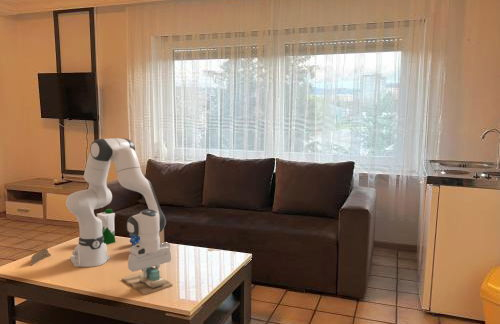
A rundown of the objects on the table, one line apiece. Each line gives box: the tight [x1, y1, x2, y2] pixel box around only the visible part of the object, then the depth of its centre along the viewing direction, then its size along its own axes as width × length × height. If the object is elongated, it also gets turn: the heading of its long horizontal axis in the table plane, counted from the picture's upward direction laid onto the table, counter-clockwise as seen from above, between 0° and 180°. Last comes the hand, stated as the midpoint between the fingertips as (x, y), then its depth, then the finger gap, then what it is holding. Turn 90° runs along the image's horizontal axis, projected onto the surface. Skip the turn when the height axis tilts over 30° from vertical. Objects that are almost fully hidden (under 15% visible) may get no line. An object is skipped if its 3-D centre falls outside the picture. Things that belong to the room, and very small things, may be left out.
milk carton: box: [96, 208, 116, 245], centre depth 251 cm, size 9×9×20 cm
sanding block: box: [139, 266, 165, 289], centre depth 188 cm, size 12×6×6 cm, turn 42°
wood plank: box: [30, 246, 51, 266], centre depth 221 cm, size 15×2×5 cm, turn 176°
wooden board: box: [121, 271, 174, 296], centre depth 192 cm, size 22×14×1 cm, turn 42°
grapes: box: [129, 233, 140, 246], centre depth 247 cm, size 12×7×12 cm, turn 154°
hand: (150, 275), depth 189 cm, fingers closed on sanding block, 3 cm apart
